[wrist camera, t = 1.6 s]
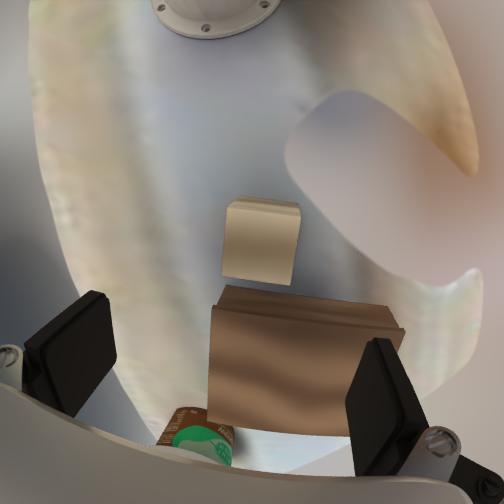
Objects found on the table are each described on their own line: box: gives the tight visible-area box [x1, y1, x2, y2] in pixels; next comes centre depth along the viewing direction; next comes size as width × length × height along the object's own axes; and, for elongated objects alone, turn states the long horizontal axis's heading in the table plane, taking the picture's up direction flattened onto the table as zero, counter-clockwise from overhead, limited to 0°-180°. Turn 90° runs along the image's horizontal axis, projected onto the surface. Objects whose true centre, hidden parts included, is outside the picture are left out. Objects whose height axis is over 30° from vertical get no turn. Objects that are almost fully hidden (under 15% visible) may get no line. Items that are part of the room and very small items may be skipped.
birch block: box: [221, 196, 301, 286], centre depth 24 cm, size 5×5×6 cm
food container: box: [149, 407, 234, 467], centre depth 31 cm, size 12×6×10 cm, turn 35°
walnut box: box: [207, 285, 405, 437], centre depth 28 cm, size 14×16×5 cm
